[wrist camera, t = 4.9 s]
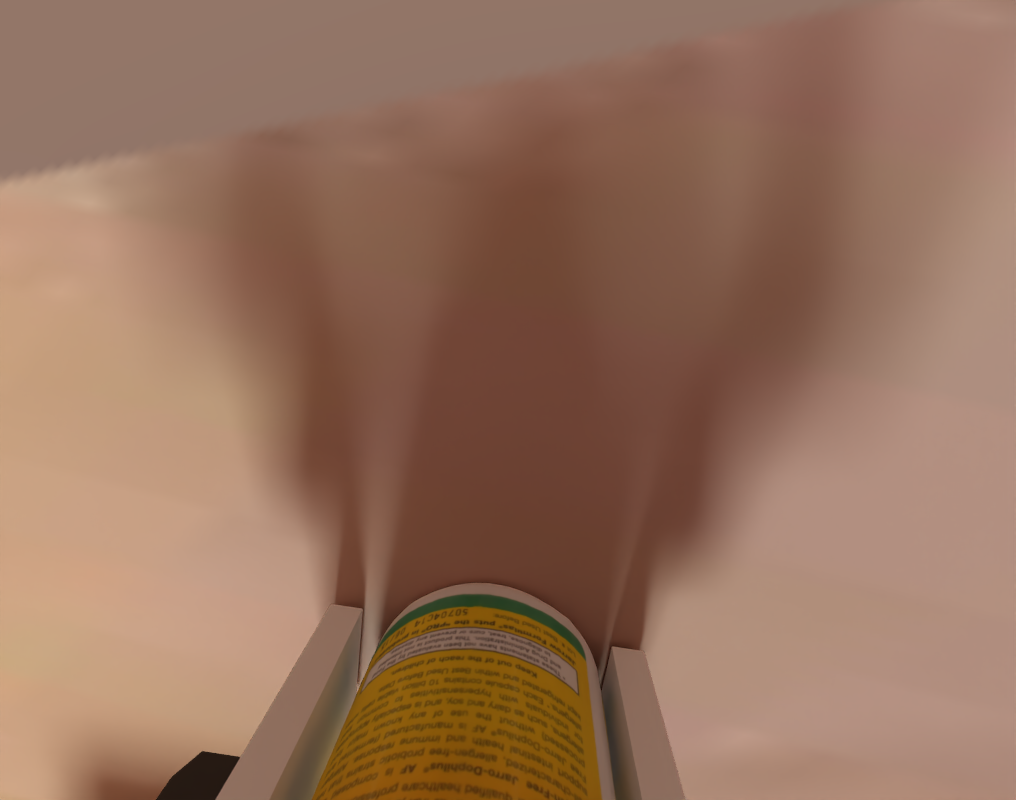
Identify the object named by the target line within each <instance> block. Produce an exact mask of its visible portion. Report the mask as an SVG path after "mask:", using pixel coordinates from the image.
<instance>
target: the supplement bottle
mask: <svg viewBox="0 0 1016 800" xmlns="http://www.w3.org/2000/svg"><path fill="white" fill-rule="evenodd" d="M312 800H616V797H615V790H614V783H613V776H612V767H611V758H610V750H609V743H608V735H607V728H606V720H605V714H604V706H603V698H602V692H601V687H600V681H599V676H598V671H597V667H596V664H595V661H594V658H593V656H592V653H591V651H590V649H589V647H588V645H587V643H586V641H585V640H584V638H583V637H582V635H581V634H580V633H579V631H578V630H577V629H576V627H575V626H574V625H573V624H572V622H571V621H570V620H569V619H568V618H567V617H565V616H564V615H562V614H561V613H560V612H558V611H557V610H556V609H555V608H553V607H552V606H550V605H548V604H546V603H545V602H543V601H541V600H539V599H538V598H536V597H534V596H532V595H530V594H528V593H525V592H523V591H520V590H518V589H514V588H511V587H508V586H503V585H498V584H492V583H467V584H459V585H454V586H450V587H446V588H443V589H440V590H437V591H434V592H432V593H429V594H427V595H425V596H423V597H421V598H419V599H418V600H416V601H414V602H413V603H411V604H410V605H409V606H408V607H407V608H406V609H404V610H403V611H402V612H401V613H400V614H399V615H398V616H397V618H395V619H394V621H393V622H392V623H391V625H390V626H389V627H388V629H387V630H386V632H385V634H384V635H383V637H382V639H381V641H380V643H379V645H378V647H377V649H376V651H375V654H374V655H373V658H372V660H371V662H370V664H369V667H368V669H367V672H366V674H365V676H364V678H363V680H362V683H361V685H360V687H359V690H358V692H357V694H356V697H355V699H354V701H353V704H352V706H351V709H350V711H349V713H348V716H347V718H346V720H345V723H344V725H343V727H342V729H341V732H340V734H339V737H338V739H337V742H336V744H335V746H334V749H333V751H332V754H331V756H330V758H329V760H328V763H327V765H326V768H325V770H324V772H323V774H322V776H321V778H320V781H319V783H318V786H317V788H316V790H315V793H314V795H313V797H312Z"/></svg>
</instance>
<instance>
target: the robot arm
mask: <svg viewBox="0 0 1016 800" xmlns="http://www.w3.org/2000/svg"><path fill="white" fill-rule="evenodd" d="M362 613H363V609H362V608H355V607H348V606H342V605H335V604H331V605H330V606H329V608H328V610H327V611H326V613H325V615H324V616H323V618H322V620H321V621H320V623H319V625H318V627H317V628H316V630H315V632H314V633H313V635H312V637H311V638H310V640H309V642H308V644H307V645H306V647H305V649H304V650H303V652H302V654H301V655H300V657H299V659H298V660H297V662H296V664H295V666H294V667H293V669H292V671H291V672H290V674H289V676H288V677H287V679H286V681H285V683H284V684H283V686H282V688H281V689H280V691H279V693H278V694H277V696H276V698H275V699H274V701H273V703H272V705H271V706H270V708H269V710H268V711H267V713H266V715H265V716H264V718H263V720H262V722H261V723H260V725H259V727H258V728H257V730H256V732H255V733H254V735H253V737H252V738H251V740H250V742H249V744H248V745H247V747H246V749H245V750H244V752H243V754H242V755H241V757H237V756H230V755H224V754H217V753H211V752H204V751H202V752H201V753H200V754H198V755H197V756H196V757H195V758H194V759H193V760H191V761H190V762H189V763H188V764H187V765H185V766H184V767H183V768H182V769H181V770H179V771H178V772H177V773H176V774H175V775H173V776H172V777H171V779H170V780H169V782H168V783H167V785H166V786H165V787H164V789H163V790H162V792H161V793H160V795H159V796H158V797H157V799H156V800H312V797H313V795H314V793H315V790H316V788H317V786H318V783H319V781H320V778H321V776H322V774H323V772H324V770H325V768H326V765H327V763H328V760H329V758H330V756H331V754H332V751H333V749H334V746H335V744H336V742H337V739H338V737H339V734H340V732H341V729H342V727H343V725H344V723H345V720H346V718H347V716H348V713H349V711H350V709H351V706H352V704H353V701H354V699H355V697H356V692H357V679H358V666H359V653H360V639H361V626H362ZM602 698H603V706H604V714H605V720H606V728H607V735H608V743H609V750H610V758H611V767H612V776H613V783H614V790H615V797H616V800H685V796H684V793H683V789H682V785H681V782H680V778H679V775H678V771H677V767H676V764H675V760H674V757H673V753H672V749H671V746H670V742H669V739H668V735H667V731H666V728H665V724H664V721H663V717H662V713H661V710H660V706H659V703H658V699H657V695H656V692H655V688H654V685H653V681H652V677H651V674H650V670H649V667H648V663H647V659H646V656H645V652H644V651H640V650H633V649H627V648H620V647H613V646H612V648H611V652H610V657H609V661H608V666H607V670H606V674H605V679H604V683H603V688H602Z"/></svg>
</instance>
